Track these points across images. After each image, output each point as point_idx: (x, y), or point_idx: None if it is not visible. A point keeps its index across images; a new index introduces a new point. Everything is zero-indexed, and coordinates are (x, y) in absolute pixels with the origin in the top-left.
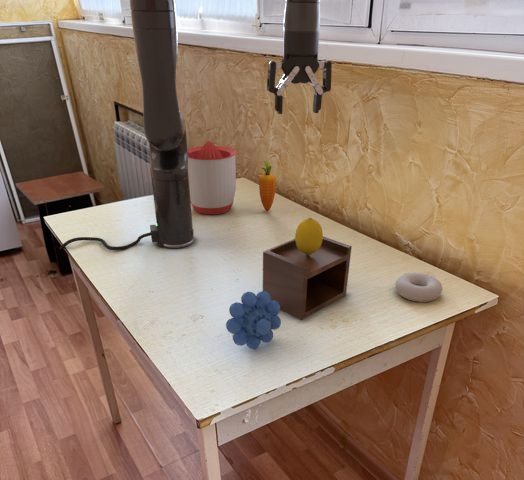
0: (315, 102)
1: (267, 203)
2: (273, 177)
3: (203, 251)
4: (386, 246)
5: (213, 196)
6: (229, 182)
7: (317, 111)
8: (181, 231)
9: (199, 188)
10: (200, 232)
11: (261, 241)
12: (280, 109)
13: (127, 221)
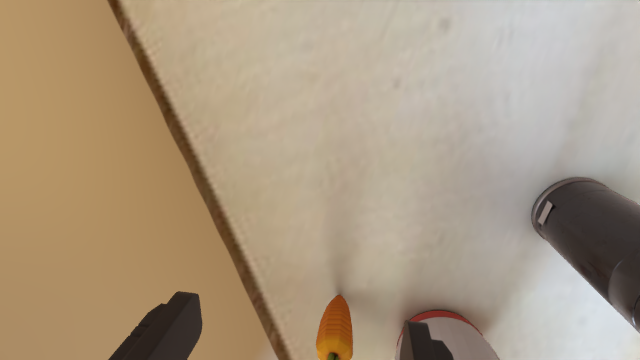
0: (167, 346)
1: (340, 301)
2: (323, 343)
3: (534, 151)
4: (163, 77)
5: (459, 333)
6: None
7: (181, 293)
8: (593, 192)
9: (493, 357)
10: (502, 242)
11: (398, 167)
12: (424, 338)
13: (624, 330)
